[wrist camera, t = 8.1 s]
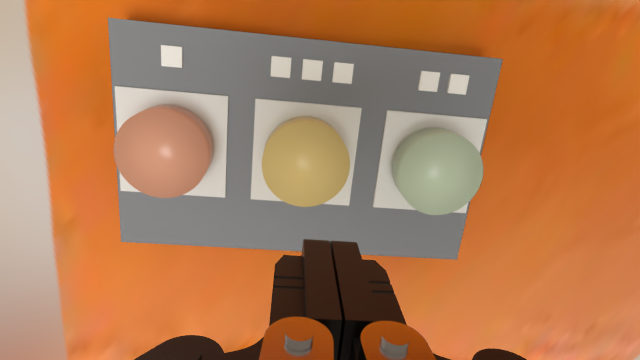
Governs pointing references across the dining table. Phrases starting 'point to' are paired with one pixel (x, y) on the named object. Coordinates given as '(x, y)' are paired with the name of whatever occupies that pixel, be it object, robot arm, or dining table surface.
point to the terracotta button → (163, 151)
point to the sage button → (437, 171)
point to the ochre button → (305, 162)
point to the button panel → (286, 103)
